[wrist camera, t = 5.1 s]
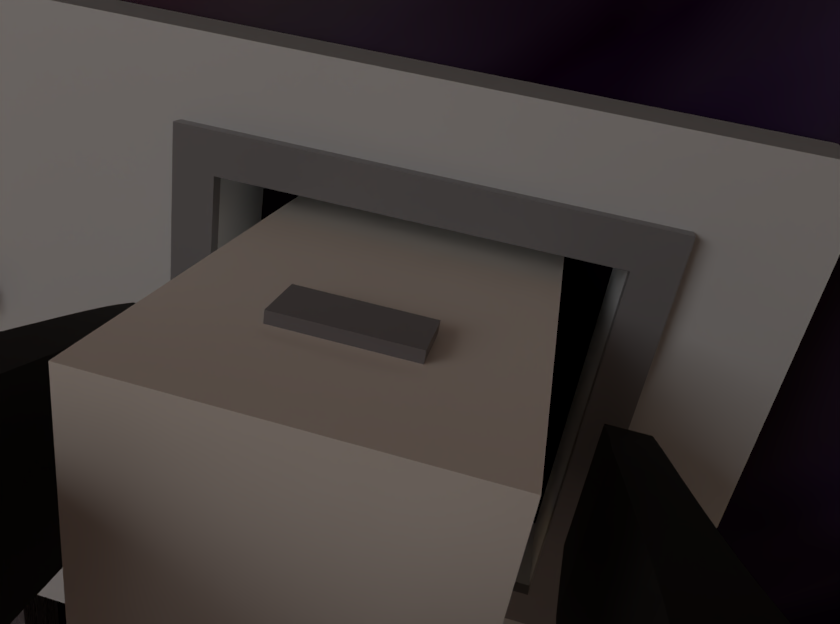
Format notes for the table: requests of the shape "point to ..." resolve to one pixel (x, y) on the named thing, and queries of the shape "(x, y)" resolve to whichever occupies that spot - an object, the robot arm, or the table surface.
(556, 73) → the table surface
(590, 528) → the robot arm
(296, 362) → the block
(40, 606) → the phone
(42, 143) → the outlet plate
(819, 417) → the table surface
